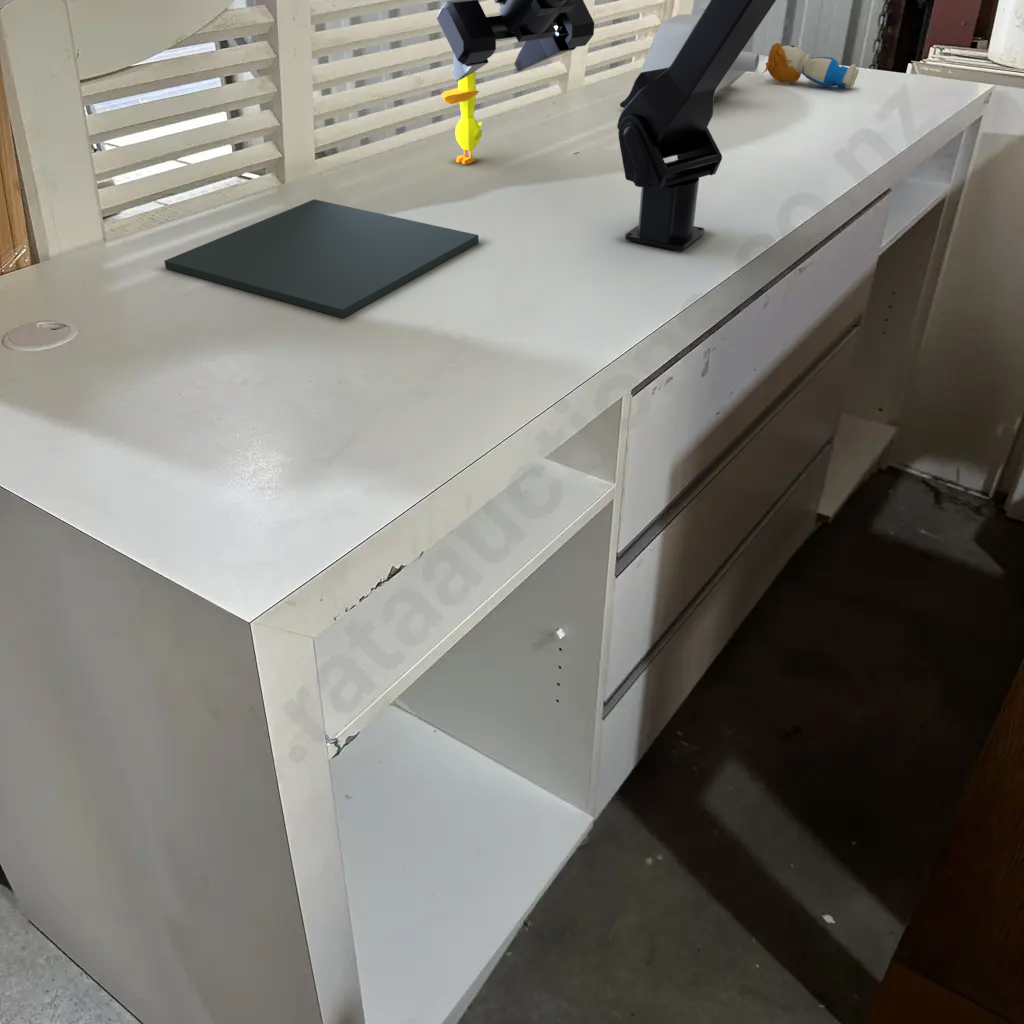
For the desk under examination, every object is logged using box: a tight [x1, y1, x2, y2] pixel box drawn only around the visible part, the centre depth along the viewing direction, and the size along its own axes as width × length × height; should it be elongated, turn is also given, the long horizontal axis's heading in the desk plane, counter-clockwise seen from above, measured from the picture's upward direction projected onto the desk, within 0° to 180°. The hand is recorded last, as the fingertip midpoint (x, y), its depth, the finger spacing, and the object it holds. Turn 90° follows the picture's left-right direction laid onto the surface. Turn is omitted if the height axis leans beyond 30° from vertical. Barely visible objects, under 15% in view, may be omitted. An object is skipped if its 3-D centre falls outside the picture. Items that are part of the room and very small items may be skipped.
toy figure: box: [441, 71, 483, 165], centre depth 119 cm, size 7×4×12 cm, turn 139°
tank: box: [638, 0, 760, 98], centre depth 147 cm, size 25×16×12 cm, turn 153°
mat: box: [164, 198, 480, 319], centre depth 95 cm, size 22×22×1 cm
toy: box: [762, 42, 860, 89], centre depth 158 cm, size 12×6×15 cm
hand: (486, 72), depth 112 cm, fingers open, 9 cm apart
